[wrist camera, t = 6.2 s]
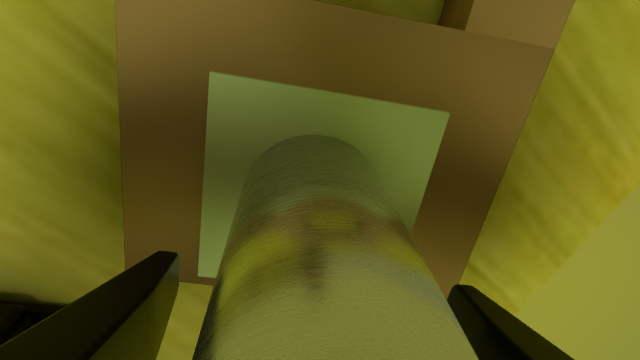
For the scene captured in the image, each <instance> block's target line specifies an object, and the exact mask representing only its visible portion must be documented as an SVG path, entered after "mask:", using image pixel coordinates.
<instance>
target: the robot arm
mask: <svg viewBox="0 0 640 360" xmlns="http://www.w3.org/2000/svg"><path fill="white" fill-rule="evenodd" d="M179 262H180V257H179V254H178V253H177V252H171V251H162V250H160V251H157V252H155V253H153V254H152V255H150V256H148V257H147V258H145V259H143V260H142V261H140V262H138V263H137V264H135V265H133V266H132V267H130V268H128V269H127V270H125V271H124V272H122V273H120V274H119V275H117V276H115V277H114V278H112V279H110V280H109V281H107V282H105V283H104V284H102V285H100V286H99V287H97V288H95V289H94V290H92V291H90V292H89V293H87V294H85V295H84V296H82V297H81V298H79V299H77V300H76V301H74V302H72V303H71V304H69V305H67V306H66V307H60V306H49V305H38V304H28V303H17V302H6V301H0V360H156V357H157V354H158V351H159V348H160V345H161V342H162V339H163V336H164V333H165V330H166V326H167V323H168V320H169V317H170V314H171V311H172V308H173V305H174V301H175V298H176V295H177V291H178V286H179ZM447 302H448V304H449V306H450V308H451V310H452V311H453V313H454V315H455V317H456V319H457V320H458V322H459V324H460V326H461V328H462V330H463V331H464V333H465V335H466V337H467V339H468V341H469V342H470V344H471V346H472V348H473V350H474V352H475V353H476V355H477V357H478V359H479V360H574V359H573V358H571V357H570V356H569V355H567V354H566V353H565V352H563V351H562V350H560V349H559V348H558V347H556V346H555V345H553V344H552V343H551V342H549V341H548V340H546V339H545V338H544V337H542V336H541V335H540V334H538V333H537V332H535V331H534V330H532V329H531V328H530V327H528V326H527V325H526V324H524V323H523V322H522V321H520V320H519V319H517V318H516V317H515V316H513V315H512V314H511V313H509V312H508V311H506V310H505V309H504V308H502V307H501V306H499V305H498V304H497V303H495V302H494V301H493V300H491V299H490V298H488V297H487V296H486V295H484V294H483V293H481V292H480V291H479V290H477V289H476V288H474V287H473V286H469V285H460V284H456V285H454V286H453V287H452V288H451V290H450V293H449V295H448V298H447Z"/></svg>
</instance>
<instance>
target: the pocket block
mask: <svg viewBox="0 0 640 360" xmlns="http://www.w3.org/2000/svg"><path fill="white" fill-rule="evenodd" d="M574 2H575V0H445V4H444V7H443V11H442V14H441V18H440V21H439V25H434V24H429V23H424V22H419V21H414V20H409V19H404V18H399V17H394V16H389V15H384V14H379V13H374V12H369V11H364V10H359V9H354V8H349V7H344V6H339V5H334V4H330V3H325V2H320V1H315V0H115V15H116V41H117V67H118V92H119V118H120V144H121V170H122V195H123V221H124V247H125V270H127V269H128V268H130V267H132V266H133V265H135V264H137V263H138V262H140V261H142V260H143V259H145V258H147V257H148V256H150V255H152V254H153V253H155V252H157V251H160V250H162V251H171V252H177V253H178V254H179V257H180V262H179V282H187V283H197V284H206V285H214V283H215V280H216V276H217V273H218V269H219V266H220V262H221V259H222V255H223V252H224V249H225V245H226V242H227V238H228V235H229V231H230V228H231V224H232V221H233V218H234V214H235V211H236V207H237V204H238V200H239V197H240V193H241V190H242V187H243V183H244V180H245V178H246V175H247V173H248V171H249V169H250V168H251V166H252V165H253V164H254V162H255V161H256V160H257V159H258V158H259V157H260V156H261V154H263V153H264V152H265V151H266V150H268V149H269V148H271V147H272V146H274V145H275V144H277V143H279V142H282V141H284V140H286V139H289V138H293V137H297V136H303V135H324V136H329V137H334V138H337V139H340V140H342V141H345V142H347V143H348V144H350V145H352V146H354V147H355V148H356V149H358V150H359V151H360V152H361V153H363V154H364V155H365V156H366V157H367V159H368V160H369V161H370V162H371V164H372V165H373V167H374V169H375V171H376V172H377V174H378V176H379V178H380V180H381V182H382V183H383V185H384V187H385V189H386V191H387V192H388V194H389V196H390V198H391V200H392V202H393V203H394V205H395V207H396V209H397V211H398V213H399V214H400V216H401V218H402V220H403V222H404V224H405V225H406V227H407V229H408V231H409V233H410V235H411V236H412V238H413V240H414V242H415V244H416V246H417V247H418V249H419V251H420V253H421V255H422V256H423V258H424V260H425V262H426V264H427V266H428V267H429V269H430V271H431V273H432V275H433V277H434V278H435V280H436V282H437V284H438V286H439V288H440V289H441V291H442V293H443V295H444V297H445V299H446V300H447V298H448V295H449V293H450V290H451V288H452V287H453V286H454V285H456V284H459V281H460V279H461V277H462V274H463V272H464V269H465V267H466V264H467V262H468V260H469V257H470V255H471V252H472V250H473V247H474V245H475V243H476V240H477V238H478V235H479V233H480V230H481V228H482V226H483V223H484V221H485V218H486V216H487V213H488V211H489V209H490V206H491V204H492V201H493V199H494V196H495V194H496V192H497V189H498V187H499V184H500V182H501V179H502V177H503V175H504V172H505V170H506V167H507V165H508V162H509V160H510V157H511V155H512V153H513V150H514V148H515V145H516V143H517V140H518V138H519V136H520V133H521V131H522V128H523V126H524V123H525V121H526V119H527V116H528V114H529V111H530V109H531V106H532V104H533V102H534V99H535V97H536V94H537V92H538V89H539V87H540V85H541V82H542V80H543V77H544V75H545V72H546V70H547V68H548V65H549V63H550V60H551V58H552V55H553V53H554V51H555V48H556V46H557V43H558V41H559V38H560V36H561V33H562V31H563V29H564V26H565V24H566V21H567V19H568V16H569V14H570V12H571V9H572V7H573V4H574Z"/></svg>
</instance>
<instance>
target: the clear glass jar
mask: <svg viewBox="0 0 640 360" xmlns="http://www.w3.org/2000/svg"><path fill="white" fill-rule="evenodd" d="M192 360H479V359H478V357H477V355H476V353H475V352H474V350H473V348H472V346H471V344H470V342H469V341H468V339H467V337H466V335H465V333H464V331H463V330H462V328H461V326H460V324H459V322H458V320H457V319H456V317H455V315H454V313H453V311H452V310H451V308H450V306H449V304H448V302H447V300H446V299H445V297H444V295H443V293H442V291H441V289H440V288H439V286H438V284H437V282H436V280H435V278H434V277H433V275H432V273H431V271H430V269H429V267H428V266H427V264H426V262H425V260H424V258H423V256H422V255H421V253H420V251H419V249H418V247H417V246H416V244H415V242H414V240H413V238H412V236H411V235H410V233H409V231H408V229H407V227H406V225H405V224H404V222H403V220H402V218H401V216H400V214H399V213H398V211H397V209H396V207H395V205H394V203H393V202H392V200H391V198H390V196H389V194H388V192H387V191H386V189H385V187H384V185H383V183H382V182H381V180H380V178H379V176H378V174H377V172H376V171H375V169H374V167H373V165H372V164H371V162H370V161H369V160H368V159H367V157H366V156H365V155H364V154H363V153H361V152H360V151H359V150H358V149H356V148H355V147H354V146H352V145H350V144H348V143H347V142H345V141H342V140H340V139H337V138H334V137H329V136H324V135H303V136H297V137H293V138H289V139H286V140H284V141H282V142H279V143H277V144H275V145H274V146H272V147H271V148H269V149H268V150H266V151H265V152H264V153H263V154H261V156H260V157H259V158H258V159H257V160H256V161H255V162H254V164H253V165H252V166H251V168H250V169H249V171H248V173H247V175H246V178H245V180H244V183H243V187H242V190H241V193H240V197H239V200H238V204H237V207H236V211H235V214H234V218H233V221H232V224H231V228H230V231H229V235H228V238H227V242H226V245H225V249H224V252H223V255H222V259H221V262H220V266H219V269H218V273H217V276H216V280H215V283H214V286H213V290H212V293H211V297H210V300H209V304H208V307H207V311H206V314H205V317H204V321H203V324H202V328H201V331H200V335H199V338H198V342H197V345H196V348H195V352H194V355H193V359H192Z"/></svg>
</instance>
